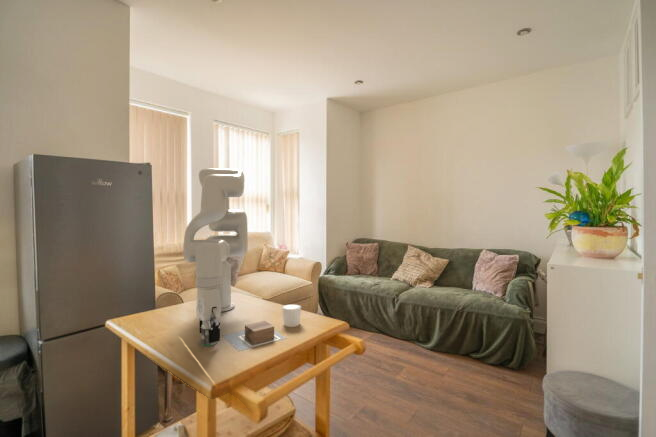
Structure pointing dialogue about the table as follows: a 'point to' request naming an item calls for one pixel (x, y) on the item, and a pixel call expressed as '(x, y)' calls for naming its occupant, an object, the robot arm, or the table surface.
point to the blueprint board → (243, 343)
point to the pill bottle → (206, 334)
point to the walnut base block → (259, 332)
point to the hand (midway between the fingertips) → (209, 336)
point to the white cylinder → (291, 315)
